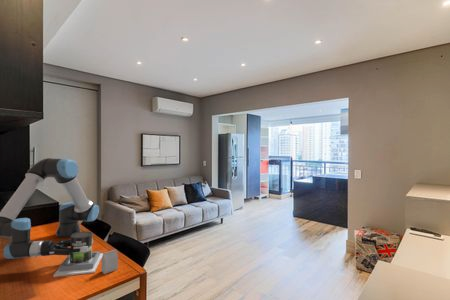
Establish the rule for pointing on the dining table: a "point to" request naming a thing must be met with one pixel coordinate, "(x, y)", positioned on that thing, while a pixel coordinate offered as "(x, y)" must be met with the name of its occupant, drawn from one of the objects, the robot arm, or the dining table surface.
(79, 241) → the coffee can
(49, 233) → the dining table surface
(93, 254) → the caddy
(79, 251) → the robot arm
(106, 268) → the white printed box
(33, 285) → the dining table surface
